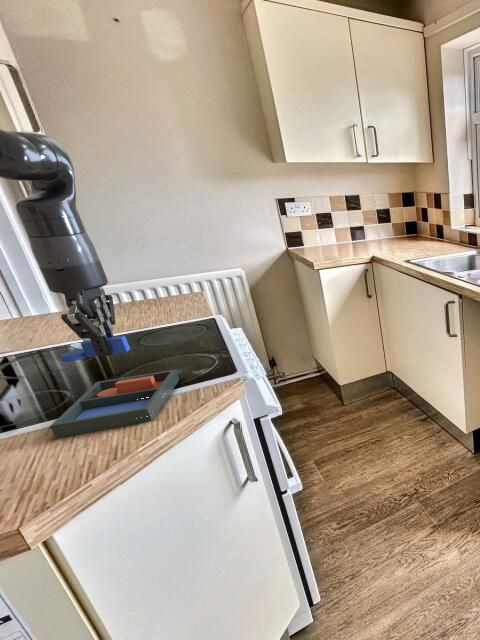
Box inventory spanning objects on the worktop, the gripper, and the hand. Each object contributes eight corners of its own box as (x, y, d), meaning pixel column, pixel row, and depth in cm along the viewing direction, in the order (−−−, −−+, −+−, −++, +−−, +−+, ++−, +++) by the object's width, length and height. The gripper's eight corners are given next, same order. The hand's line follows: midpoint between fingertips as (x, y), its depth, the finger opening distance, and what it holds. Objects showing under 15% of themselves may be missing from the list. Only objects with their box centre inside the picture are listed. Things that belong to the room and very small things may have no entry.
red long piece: (95, 402, 85) (89, 389, 84) (103, 393, 88) (98, 382, 87) (153, 392, 88) (148, 380, 87) (159, 384, 91) (154, 373, 90)
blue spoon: (58, 363, 75) (51, 349, 74) (68, 355, 78) (61, 341, 77) (125, 353, 78) (119, 340, 77) (132, 347, 81) (127, 333, 80)
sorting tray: (55, 438, 75) (49, 426, 74) (101, 392, 90) (96, 381, 89) (152, 420, 80) (147, 408, 79) (179, 379, 95) (175, 369, 94)
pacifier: (77, 348, 113) (72, 355, 109) (67, 326, 111) (62, 332, 106) (113, 342, 117) (110, 348, 113) (104, 320, 115) (101, 326, 110)
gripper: (61, 256, 77) (99, 343, 83) (15, 271, 65) (63, 372, 72) (113, 252, 79) (146, 337, 86) (78, 266, 68) (118, 364, 74)
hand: (108, 352), depth 79 cm, fingers closed on blue spoon, 1 cm apart
